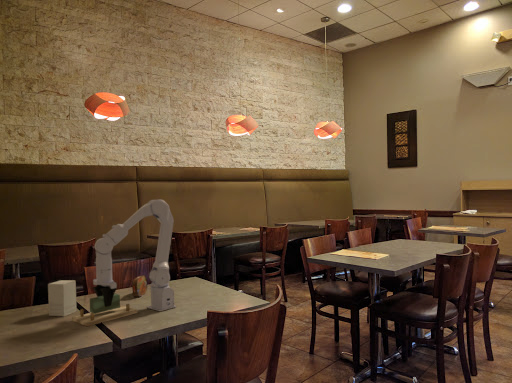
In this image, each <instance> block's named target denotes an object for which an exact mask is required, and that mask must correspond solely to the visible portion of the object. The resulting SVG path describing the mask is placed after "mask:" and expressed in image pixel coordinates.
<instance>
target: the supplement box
mask: <svg viewBox="0 0 512 383" xmlns="http://www.w3.org/2000/svg"><path fill="white" fill-rule="evenodd" d="M76 285H77V283H76V280H73V279H72V280H70V279H69V280H61V279H59V280H57V281H54V282H49V283H47V294H48V295H47V296H48V316H49V317H50V316H52V317H66V316H69V315H71V314H73V313H76V312H77V286H76Z"/></svg>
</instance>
